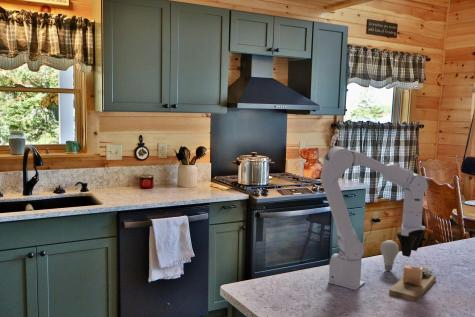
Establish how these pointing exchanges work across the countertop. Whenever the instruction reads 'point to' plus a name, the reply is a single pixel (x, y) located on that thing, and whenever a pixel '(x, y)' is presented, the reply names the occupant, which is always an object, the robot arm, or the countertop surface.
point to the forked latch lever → (414, 275)
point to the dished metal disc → (423, 269)
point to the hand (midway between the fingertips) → (409, 253)
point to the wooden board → (411, 288)
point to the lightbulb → (389, 253)
